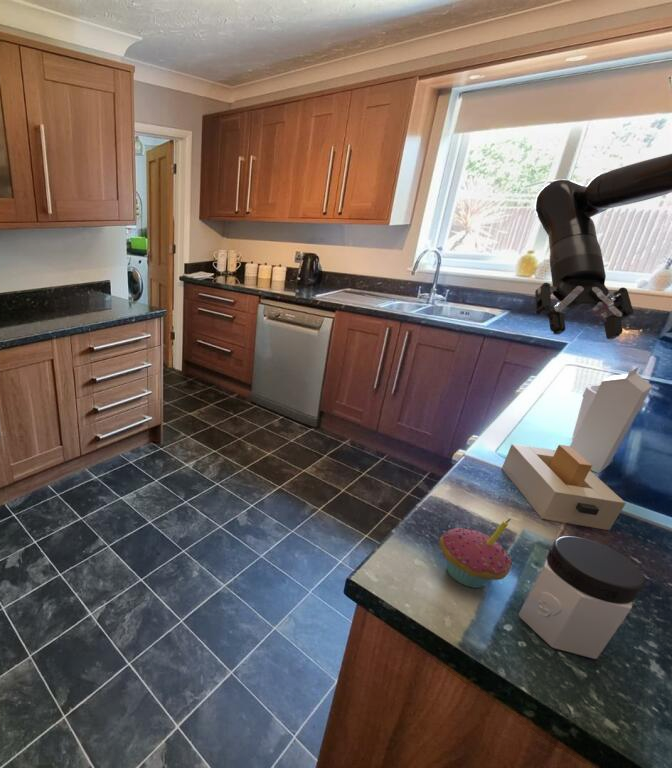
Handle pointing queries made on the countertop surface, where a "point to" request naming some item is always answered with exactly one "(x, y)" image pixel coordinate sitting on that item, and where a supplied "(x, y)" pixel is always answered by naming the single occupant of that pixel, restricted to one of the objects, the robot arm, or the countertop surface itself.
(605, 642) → the jar
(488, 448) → the countertop surface
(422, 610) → the countertop surface
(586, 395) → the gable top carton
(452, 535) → the cupcake
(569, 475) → the toast
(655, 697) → the countertop surface
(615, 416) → the milk
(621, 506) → the toaster
